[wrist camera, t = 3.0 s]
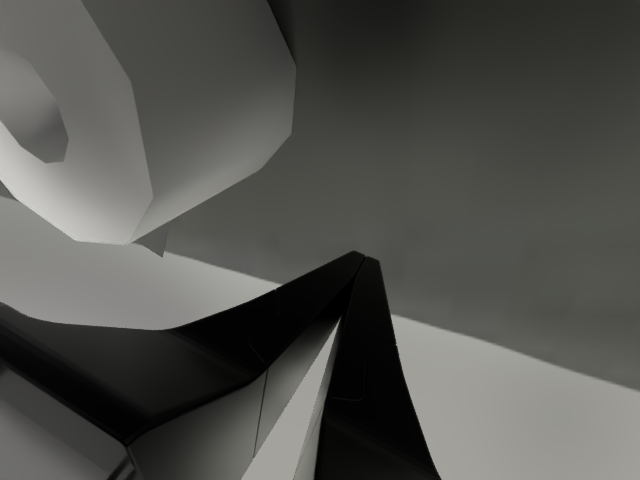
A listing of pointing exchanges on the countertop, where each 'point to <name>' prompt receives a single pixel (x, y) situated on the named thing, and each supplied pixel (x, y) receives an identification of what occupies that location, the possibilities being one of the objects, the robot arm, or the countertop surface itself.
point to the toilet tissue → (137, 108)
